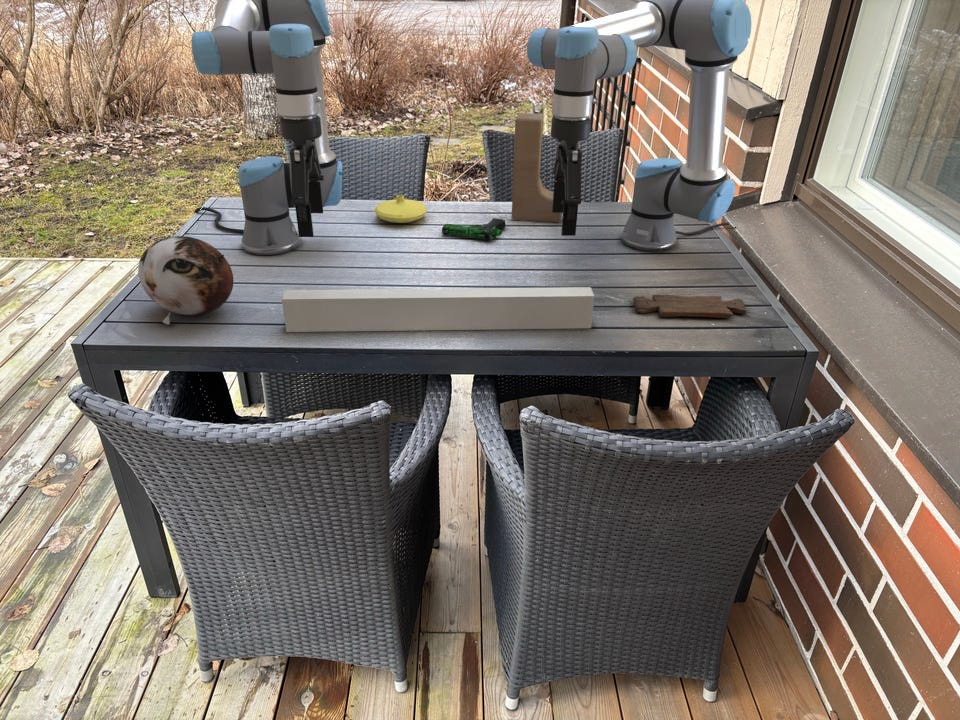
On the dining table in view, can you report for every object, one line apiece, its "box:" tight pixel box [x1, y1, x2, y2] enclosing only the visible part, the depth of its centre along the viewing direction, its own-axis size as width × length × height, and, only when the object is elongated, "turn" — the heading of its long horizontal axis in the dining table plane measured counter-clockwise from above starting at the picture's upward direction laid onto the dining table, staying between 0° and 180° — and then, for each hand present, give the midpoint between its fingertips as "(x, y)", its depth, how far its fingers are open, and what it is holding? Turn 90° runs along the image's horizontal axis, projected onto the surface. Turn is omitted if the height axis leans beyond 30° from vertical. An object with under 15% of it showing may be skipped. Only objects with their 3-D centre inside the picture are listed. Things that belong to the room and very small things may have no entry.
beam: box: [281, 286, 595, 333], centre depth 156 cm, size 67×4×8 cm, turn 93°
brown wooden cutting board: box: [632, 294, 747, 319], centre depth 166 cm, size 26×2×10 cm
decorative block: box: [511, 112, 563, 223], centre depth 211 cm, size 8×15×30 cm, turn 82°
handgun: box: [441, 217, 506, 242], centre depth 207 cm, size 16×3×15 cm
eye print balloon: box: [137, 235, 234, 326], centre depth 158 cm, size 22×18×20 cm
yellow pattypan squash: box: [374, 194, 428, 224], centre depth 214 cm, size 16×16×7 cm
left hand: (311, 224), depth 145 cm, fingers open, 13 cm apart
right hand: (563, 223), depth 147 cm, fingers open, 13 cm apart
